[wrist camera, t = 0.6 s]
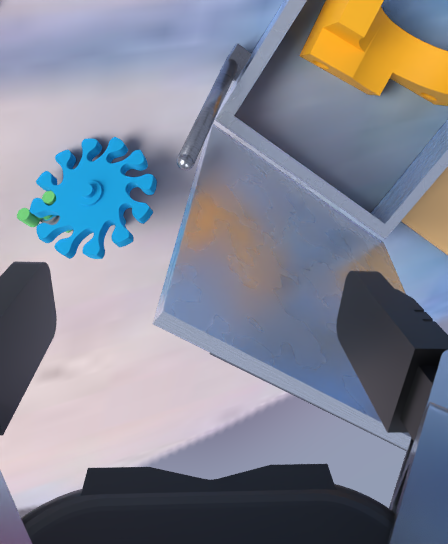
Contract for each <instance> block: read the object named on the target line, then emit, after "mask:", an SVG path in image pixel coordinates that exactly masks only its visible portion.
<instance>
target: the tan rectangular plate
mask: <svg viewBox="0 0 448 544" xmlns="http://www.w3.org/2000/svg"><path fill="white" fill-rule="evenodd" d="M401 221H402V222H403V223H404V224H406V225H407V226H408V227H410V228H411V229H412V230H414V231H415V232H417V233H418V234H419V235H421V236H422V237H423V238H425V239H426V240H428V241H429V242H430V243H432V244H433V245H434V246H436V247H437V248H438V249H440V250H441V251H443V252H444V253H445V254H447V255H448V167H447V168H446V169H445V170H444V171H443V172H442V174H441V175H440V176H439V177H438V178H437V179H436V181H435V182H434V183H433V184H432V185H431V186H430V188H429V189H428V190H427V191H426V192H425V193H424V195H423V196H422V197H421V198H420V199H419V201H418V202H417V203H416V204H415V205H414V206H413V208H412V209H411V210H410V211H409V212H408V213H407V215H406V216H405V217H404V218H403V219H402V220H401Z"/></svg>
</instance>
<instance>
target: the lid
mask: <svg viewBox="0 0 448 544" xmlns="http://www.w3.org/2000/svg"><path fill="white" fill-rule="evenodd" d="M350 271H378V272H380V273H381V274H382V275H383V276H384V278H385V279H386V280H387V281H388V282H389V283H390V284H391V285H392V286H393V288H394V289H398V290H399V291H401V292H403V293H404V294H406V293H405V291H404V289H403V287H402V284H401V282H400V280H399V277H398V275H397V273H396V270H395V268H394V266H393V263H392V261H391V259H390V256H389V254H388V252H387V249H386V247H385V245H384V242H382V241H381V240H379V239H378V238H376V237H375V236H374V235H372V234H371V233H369V232H368V231H366V230H365V229H363V228H362V227H361V226H359V225H358V224H356V223H355V222H353V221H352V220H351V219H349V218H348V217H346V216H345V215H343V214H342V213H340V212H339V211H338V210H336V209H335V208H333V207H332V206H330V205H329V204H327V203H326V202H325V201H323V200H322V199H320V198H319V197H317V196H316V195H315V194H313V193H312V192H310V191H309V190H307V189H306V188H304V187H303V186H302V185H300V184H299V183H297V182H296V181H294V180H293V179H292V178H290V177H289V176H287V175H286V174H284V173H283V172H281V171H280V170H279V169H277V168H276V167H274V166H273V165H271V164H270V163H269V162H267V161H266V160H264V159H263V158H261V157H260V156H258V155H257V154H256V153H254V152H253V151H251V150H250V149H248V148H247V147H246V146H244V145H243V144H241V143H240V142H238V141H237V140H235V139H234V138H233V137H231V136H230V135H228V134H227V133H225V132H224V131H223V130H221V129H220V128H218V127H217V126H215V125H214V124H213V125H212V126H211V128H210V130H209V133H208V135H207V137H206V139H205V142H204V145H203V149H202V152H201V156H200V160H199V163H198V167H197V170H196V174H195V177H194V181H193V184H192V188H191V191H190V195H189V198H188V202H187V205H186V209H185V212H184V216H183V219H182V223H181V226H180V230H179V233H178V237H177V240H176V244H175V247H174V251H173V254H172V258H171V261H170V265H169V268H168V272H167V275H166V279H165V282H164V286H163V289H162V293H161V296H160V300H159V303H158V307H157V310H156V314H155V317H154V321H153V324H154V325H156V326H158V327H160V328H162V329H164V330H166V331H168V332H170V333H172V334H174V335H176V336H178V337H180V338H182V339H184V340H186V341H188V342H190V343H192V344H194V345H196V346H198V347H200V348H202V349H204V350H206V351H208V352H210V354H211V355H213V356H215V357H217V358H219V359H221V360H223V361H225V362H227V363H229V364H231V365H233V366H235V367H237V368H239V369H241V370H243V371H245V372H247V373H249V374H251V375H253V376H255V377H257V378H259V379H261V380H264V381H266V382H268V383H270V384H272V385H274V386H276V387H278V388H280V389H282V390H284V391H286V392H288V393H290V394H292V395H294V396H296V397H298V398H300V399H302V400H304V401H306V402H308V403H310V404H312V405H314V406H316V407H318V408H320V409H322V410H324V411H326V412H328V413H330V414H332V415H335V416H336V417H338V418H341V419H343V420H345V421H347V422H349V423H351V424H353V425H355V426H357V427H359V428H361V429H363V430H365V431H367V432H369V433H371V434H373V435H375V436H377V437H379V438H381V439H383V440H385V441H387V442H389V443H391V444H393V445H395V446H397V447H399V448H401V449H403V450H405V451H407V448H408V446H409V443H410V440H411V436H410V434H409V433H408V432H405V433H387V431H386V429H385V427H384V425H383V423H382V421H381V420H380V418H379V416H378V414H377V412H376V410H375V408H374V406H373V405H372V403H371V401H370V399H369V397H368V395H367V393H366V391H365V389H364V388H363V386H362V384H361V382H360V380H359V378H358V376H357V374H356V373H355V371H354V369H353V367H352V365H351V363H350V361H349V359H348V357H347V356H346V354H345V352H344V350H343V348H342V346H341V344H340V342H339V340H338V337H337V330H336V323H337V316H338V312H339V307H340V302H341V298H342V293H343V288H344V284H345V279H346V276H347V274H348V273H349V272H350Z"/></svg>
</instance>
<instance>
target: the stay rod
mask: <svg viewBox="0 0 448 544" xmlns="http://www.w3.org/2000/svg"><path fill="white" fill-rule="evenodd" d="M230 55H231V54H229V55H228V57H227V59H226V61H225V63H224V65H223V67H222V69H221V71H220V73H219V75H218V77H217V79H216V81H215V83H214V85H213V87H212V89H211V91H210V93H209V95H208V97H207V99H206V101H205V103H204V105H203V107H202V109H201V111H200V113H199V115H198V117H197V119H196V121H195V123H194V125H193V127H192V129H191V131H190V133H189V135H188V137H187V139H186V141H185V143H184V145H183V147H182V149H181V151H180V153H179V155H178V157H177V165H178V166H179V168H181V169H182V170H189V169H191V168H192V167H193V165H194V163H195V161H196V159H197V157H198V154H199V152H200V150H201V148H202V146H203V144H204V141H205V139H206V137H207V135H208V133H209V130H210V128H211V126H212V124H213V122H214V120H215V117H216V115H217V113H218V111H219V109H220V106H221V104H222V102H223V100H224V98H225V95H226V93H227V91H228V89H229V87H230V85H231V82H232V80H233V78H234V76H235V74H236V71H237V68H238V66H237V62H236V61H235V60H233V59H229V57H230ZM228 59H229V60H228Z"/></svg>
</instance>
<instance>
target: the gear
mask: <svg viewBox="0 0 448 544" xmlns="http://www.w3.org/2000/svg"><path fill="white" fill-rule="evenodd" d="M82 150H83V154H82V158H81V160H80V162H79V164H78V166H77V167H76V168H75V169H73V167H74V165H75V163H76V157H75V156H74V155H73V154H72V153H71V152H70V151H69V150H65V151H62V152H60V153H59V154H57V155H56V157H55V159H56V161H57V162H58V163H59V164H60V165H61V167H62V169H63V181H62V183H61V184H59V185H57V179H56V178H55V177H54V176H53V175H52V174H51V173H49V172H48V171H45V172H44V173H42V174H41V175H40V177H39V178H38V179H37V181H36V183H37V184H38V185H39V186H40V187H41V188H43V189H44V190H46V191H47V192H45V193H44V195H43V197H42V199H40V198H35V199H34V200H33V201H32V204H31V207H30V210H28V209H27V208H23V209H21V210H19V212H18V214H17V218H18V219H19V220H20V221H22V222H24V223H25V224H27V225H28V226H30V227H35V226H37V225H38V224H39V222H40V221H41V222H42V223H41V224H39V225H38V226H37V234H38V237H39V239H40V240H42V241H44V242H45V243H50V242H52V241H53V240H54V239H55V238H56V237H57V236H58V235H60V234H61V233H63V232H67V233H69V232H71V231H72V230H73V234H72V235H71V236H70V237H69V238H65V239H61V240H59V241H58V242H57V243H56V244H55V249H56V250H57V251H58V252H59V253H61V254H62V255H64V256H66V257H67V258H69V259H70V258H72V257H74V255H75V254H76V251H77V248H78V246H79V244H80V243H81V241H82V240H83V239H84V238H85V237H87V236H88V235H89V234H91V233H94V236H93V238H92V239H91V240H90V241H89V242H87V243H86V244H85V245H84V247H83V254H85V255H87V256H88V257H90V258H93V259H102V258H103V257H104V254H105V249H104V238H105V235H106V233H107V231H108V229H109V227H110V226H112V225H115V226H116V227H115V229H114V231H113V234H112V241H113V242H114V243H115V244H116V245H117V246H119V247H123V246H126V245H128V244H130V243H131V242H133V235H132V234H131V233H130V232H129V231H128V230H127V229H126V227H125V224H126V219H125V218H124V217H123V215H124V212H125V210H126V209H128V208H132V214H133V216H134V217H135V218H136V219H137V220H138V221H139V222H140V223H142V224H144V223H145V222H146V221H147V220H148V219H149V218H150V217H151V215H152V214H153V211H152V209H151V208H150V207H149V206H148V205H147V204H146V203H143V202H137V201H135V200H133V199H131V197H130V191H131V190H132V189H133V188H136V187H139V188H141V189H142V191H143V192H144V193H145V194H147V195H152V194H154V192H155V190H156V186H157V180H156V179H155V177H154V176H153V175H152V174H145V175H143V176H139V177H128V176H125V173H126V172H127V171H128V170H130V169H135V170H139V171H142V170H145V169H146V168H147V167H148V163H147V160H146V158H145V156H144V155H143V153H142V152H141V150H136V151H134V152H132V153H131V155H130V156H128V157H127V158H126V159H124V160H122V161H120V162H116V163H111V162H112V160H113V159H115V158H118V157H122V156H124V155H125V154H126V153H127V152H128V148H127V147H126V145H125V144H124V143H123V141H121V140H120V139H118V138H116V137H114V138H112V139H111V140H110V142H109V144H108V147H107V149H106V151H105V152H104V153H103V154H102V155H101V156H100V157H99V158H98V159H96V160H95V161H92V160H93V158H94V157H96V156H97V155H98V154H99V153H100V152H101V150H102V146H101V144H100V143H99V142H98V141H97V140H96V139H84V140H83V142H82Z"/></svg>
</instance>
